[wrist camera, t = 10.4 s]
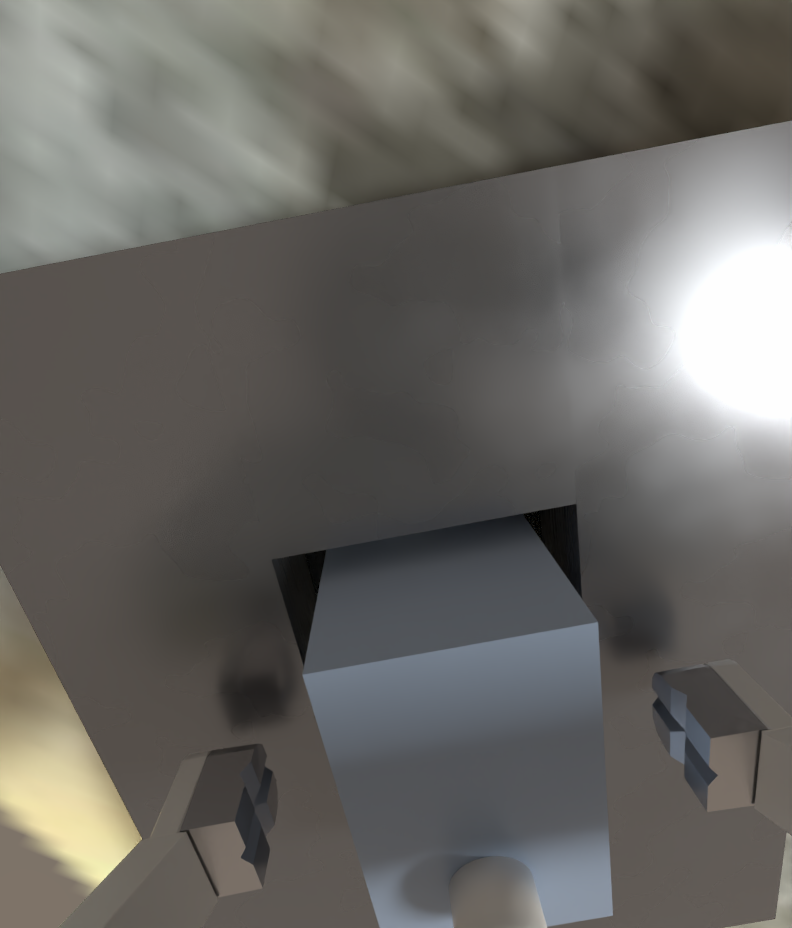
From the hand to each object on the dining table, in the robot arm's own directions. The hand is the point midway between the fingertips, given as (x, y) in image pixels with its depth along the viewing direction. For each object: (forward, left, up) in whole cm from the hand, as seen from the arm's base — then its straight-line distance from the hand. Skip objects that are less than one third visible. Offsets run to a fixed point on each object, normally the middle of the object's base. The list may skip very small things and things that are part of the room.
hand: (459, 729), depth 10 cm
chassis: (0, 0, -3) cm, 3 cm away
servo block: (0, 0, -3) cm, 3 cm away
